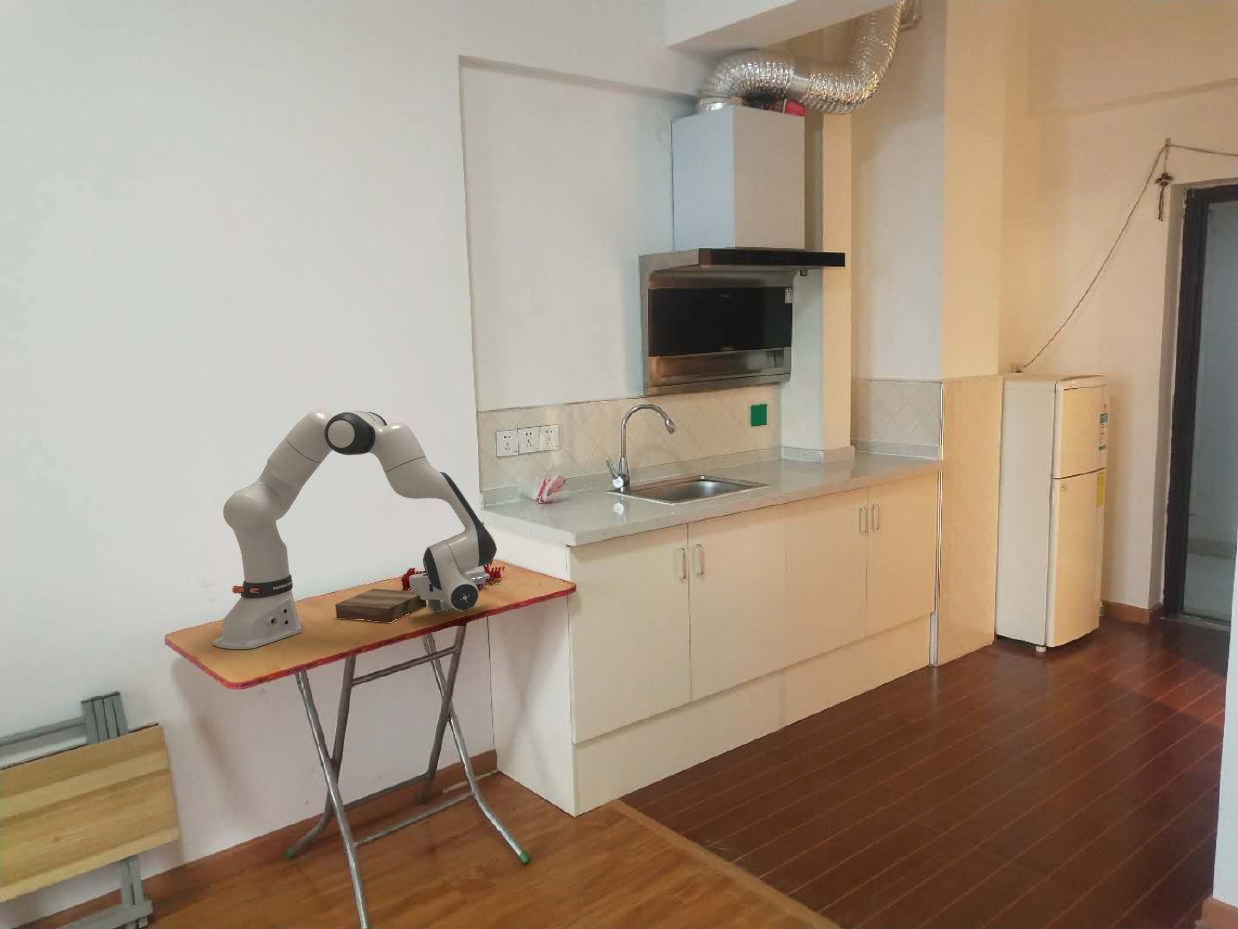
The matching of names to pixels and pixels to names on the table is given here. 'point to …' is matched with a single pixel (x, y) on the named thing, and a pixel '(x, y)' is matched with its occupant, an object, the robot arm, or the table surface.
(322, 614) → the table surface
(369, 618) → the deck
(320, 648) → the table surface
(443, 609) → the rack
